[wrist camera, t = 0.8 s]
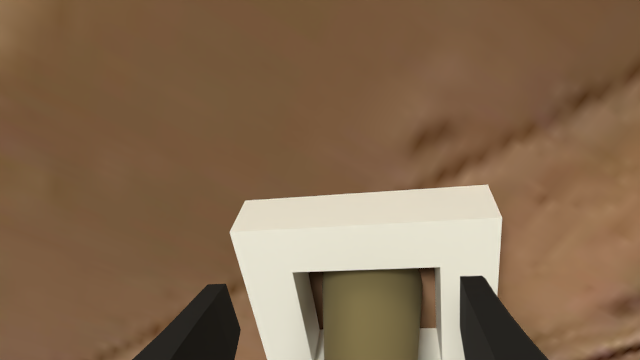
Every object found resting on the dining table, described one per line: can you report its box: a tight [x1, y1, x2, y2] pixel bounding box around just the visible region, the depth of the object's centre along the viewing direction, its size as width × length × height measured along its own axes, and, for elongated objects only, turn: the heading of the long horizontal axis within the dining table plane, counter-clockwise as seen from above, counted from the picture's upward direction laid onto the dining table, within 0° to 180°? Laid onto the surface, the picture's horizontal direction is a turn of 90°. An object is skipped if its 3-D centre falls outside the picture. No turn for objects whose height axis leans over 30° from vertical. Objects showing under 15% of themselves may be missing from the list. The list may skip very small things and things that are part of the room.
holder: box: [230, 185, 502, 360], centre depth 25 cm, size 13×13×3 cm
